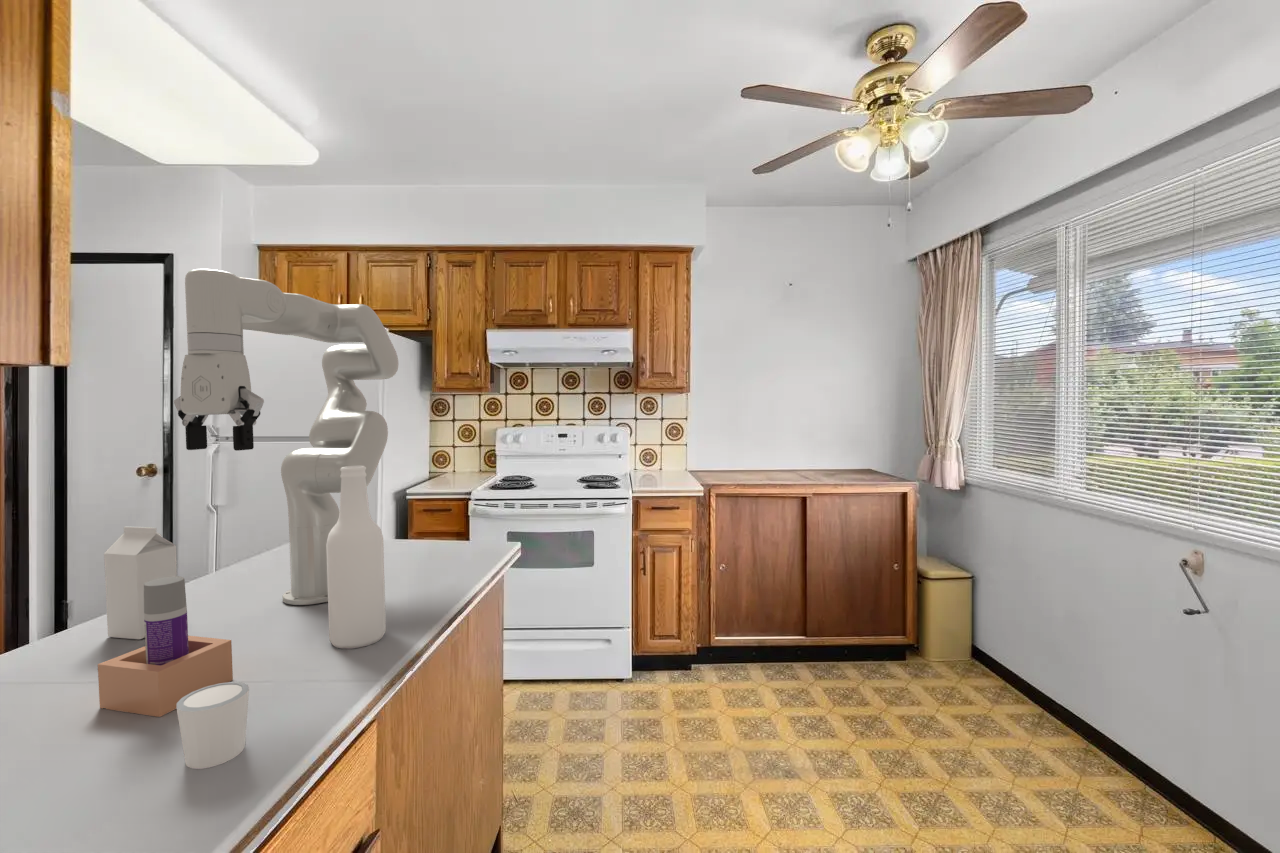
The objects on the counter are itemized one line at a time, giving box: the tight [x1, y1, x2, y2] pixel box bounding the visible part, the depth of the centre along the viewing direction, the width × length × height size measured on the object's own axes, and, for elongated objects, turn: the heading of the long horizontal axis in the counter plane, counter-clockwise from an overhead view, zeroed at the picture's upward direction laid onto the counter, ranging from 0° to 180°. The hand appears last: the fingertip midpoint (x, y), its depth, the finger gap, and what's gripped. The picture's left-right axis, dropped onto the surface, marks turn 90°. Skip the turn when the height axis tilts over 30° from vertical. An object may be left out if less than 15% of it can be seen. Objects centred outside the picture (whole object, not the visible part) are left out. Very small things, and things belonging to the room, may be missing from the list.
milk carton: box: [103, 526, 178, 640], centre depth 105 cm, size 7×7×19 cm
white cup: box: [176, 681, 250, 770], centre depth 67 cm, size 7×7×7 cm
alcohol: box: [326, 466, 387, 650], centre depth 100 cm, size 9×9×30 cm
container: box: [144, 575, 189, 666], centre depth 82 cm, size 5×5×15 cm
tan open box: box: [97, 635, 234, 718], centre depth 82 cm, size 10×10×6 cm
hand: (220, 449), depth 97 cm, fingers open, 9 cm apart
